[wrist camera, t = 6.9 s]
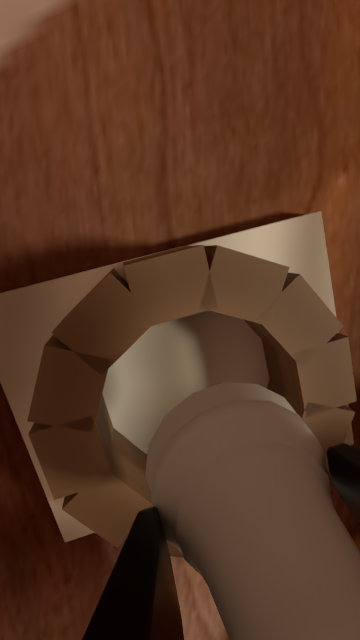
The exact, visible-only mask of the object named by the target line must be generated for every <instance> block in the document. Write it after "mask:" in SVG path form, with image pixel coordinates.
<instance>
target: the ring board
mask: <svg viewBox="0 0 360 640" xmlns="http://www.w3.org/2000/svg"><path fill="white" fill-rule="evenodd" d="M342 327H343V325H342V324H341V323H340V321H339V320H338V319H337V318H336V312H335V305H334V298H333V291H332V284H331V277H330V270H329V263H328V256H327V249H326V241H325V234H324V227H323V220H322V213H321V211H319V212H314V213H309V214H304V215H300V216H297V217H293V218H289V219H285V220H281V221H277V222H273V223H269V224H266V225H262V226H258V227H254V228H250V229H246V230H242V231H238V232H235V233H231V234H227V235H223V236H219V237H215V238H211V239H207V240H204V241H200V242H196V243H192V244H188V245H184V246H180V247H176V248H173V249H169V250H165V251H161V252H157V253H153V254H149V255H146V256H142V257H138V258H134V259H130V260H126V261H122V262H118V263H115V264H111V265H107V266H103V267H99V268H95V269H91V270H87V271H84V272H80V273H76V274H72V275H68V276H64V277H60V278H56V279H53V280H49V281H45V282H41V283H37V284H33V285H29V286H26V287H22V288H18V289H14V290H10V291H6V292H2V293H0V382H1V385H2V387H3V390H4V392H5V395H6V397H7V400H8V402H9V405H10V407H11V410H12V412H13V415H14V417H15V420H16V422H17V425H18V427H19V430H20V432H21V435H22V437H23V440H24V442H25V445H26V447H27V450H28V452H29V455H30V457H31V460H32V462H33V465H34V467H35V469H36V472H37V474H38V477H39V479H40V482H41V484H42V487H43V489H44V492H45V494H46V497H47V499H48V502H49V504H50V507H51V509H52V512H53V514H54V517H55V519H56V522H57V524H58V527H59V529H60V532H61V534H62V537H63V539H64V542H68V541H71V540H74V539H77V538H80V537H83V536H86V535H89V534H92V533H96V534H98V535H99V536H101V537H102V538H103V539H105V540H106V541H108V542H109V543H111V544H112V545H113V546H115V547H116V548H118V547H119V546H120V545H121V544H122V543H123V542H124V541H125V540H126V538H127V536H128V534H129V531H130V529H131V527H132V524H133V522H134V520H135V518H136V515H137V513H138V512H139V511H140V510H143V509H146V508H149V507H152V506H153V505H152V502H151V500H150V498H151V491H150V488H149V485H148V483H147V480H146V477H145V472H146V463H147V453H148V445H149V443H150V441H151V439H152V437H153V436H154V434H155V432H156V430H157V429H158V427H159V425H160V423H161V422H162V420H163V418H164V416H165V415H166V414H167V413H169V412H170V411H171V410H172V409H173V408H175V407H176V406H177V405H178V404H180V403H181V402H182V401H183V400H184V399H186V398H187V397H188V396H189V395H191V394H192V393H194V392H197V391H200V390H203V389H206V388H209V387H212V386H215V385H218V384H221V383H224V382H229V383H248V384H258V385H260V386H262V387H264V388H266V389H268V390H270V391H272V392H274V393H276V394H278V395H280V396H282V397H284V398H285V399H286V400H287V402H288V403H289V404H290V405H291V407H292V408H293V409H294V411H295V412H296V413H297V414H298V415H300V417H301V418H302V419H303V421H304V422H305V423H306V425H307V426H308V427H309V428H310V430H311V431H312V432H313V434H314V435H315V436H316V437H317V439H318V441H319V443H320V445H321V447H322V450H323V454H324V459H325V464H326V469H327V472H329V466H328V460H327V453H326V451H327V449H328V447H331V446H334V445H337V444H340V443H345V444H348V445H352V444H354V439H353V432H352V425H351V423H352V420H353V417H354V415H355V411H353V410H352V409H350V408H349V403H353V402H356V401H357V399H356V391H355V384H354V376H353V369H352V362H351V354H350V347H349V339H348V337H347V336H345V335H342V334H340V333H338V331H339V330H340V329H341V328H342ZM167 544H168V549H169V554H170V556H175V557H184V556H183V554H182V553H181V552H180V551H179V550H177V549H176V548H175V547H174V546H173V545H172V544H171V543H170V542H169V541H168V540H167Z"/></svg>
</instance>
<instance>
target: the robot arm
mask: <svg viewBox="0 0 360 640" xmlns="http://www.w3.org/2000/svg"><path fill="white" fill-rule="evenodd" d="M326 453H327V460H328V466H329V472H330V477H331V481H332V483H333V485H334V487H335V488H336V490H337V491H338V493H339V494H340V496H341V497H342V499H343V500H344V502H345V503H346V505H347V506H348V508H349V509H350V511H351V512H352V514H353V515H354V517H355V518H356V520H357V521H358V523H359V524H360V448H357V447H354V446H351V445H348V444H345V443H340V444H337V445H334V446H331V447H328V449H327V451H326ZM82 640H184V635H183V626H182V619H181V612H180V606H179V601H178V596H177V591H176V585H175V580H174V575H173V570H172V564H171V559H170V554H169V549H168V544H167V539H166V536H165V533H164V530H163V527H162V524H161V521H160V518H159V515H158V511H157V508H156V507H155V506H152V507H149V508H146V509H143V510H140V511H139V512H138V513H137V515H136V518H135V520H134V522H133V524H132V527H131V529H130V531H129V534H128V536H127V538H126V540H125V543H124V545H123V547H122V550H121V552H120V554H119V556H118V559H117V561H116V563H115V566H114V568H113V570H112V573H111V575H110V577H109V579H108V582H107V584H106V586H105V589H104V591H103V593H102V595H101V598H100V600H99V602H98V605H97V607H96V609H95V611H94V614H93V616H92V618H91V621H90V623H89V625H88V628H87V630H86V632H85V634H84V637H83V639H82Z"/></svg>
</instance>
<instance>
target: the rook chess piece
mask: <svg viewBox="0 0 360 640" xmlns="http://www.w3.org/2000/svg"><path fill="white" fill-rule="evenodd" d="M145 477H146V480H147V483H148V485H149V488H150V491H151V498H150V500H151V502H152V505H153V506H155V507H156V508H157V511H158V515H159V518H160V521H161V524H162V527H163V530H164V533H165V536H166V539H167V540H168V541H169V542H170V543H171V544H172V545H173V546H174V547H175V548H176V549H177V550H179V551H180V552H181V553H182V554H183V556H184V559H185V560H186V561H187V562H188V563H189V564H190V565H191V566H192V567H193V568H194V569H195V570H196V571H197V572H198V573H199V574H200V575H202V576H203V578H204V580H205V581H206V583H207V585H208V587H209V589H210V591H211V594H212V596H213V599H214V601H215V604H216V606H217V609H218V611H219V614H220V616H221V619H222V621H223V624H224V626H225V629H226V631H227V634H228V636H229V639H230V640H360V551H359V549H358V547H357V546H356V544H355V542H354V541H353V539H352V537H351V536H350V534H349V532H348V531H347V529H346V527H345V526H344V524H343V522H342V521H341V519H340V517H339V516H338V514H337V512H336V510H335V508H334V506H333V504H334V501H333V496H332V491H331V487H330V482H329V477H328V474H327V469H326V464H325V459H324V454H323V450H322V447H321V445H320V443H319V441H318V439H317V437H316V436H315V435H314V434H313V432H312V431H311V430H310V428H309V427H308V426H307V425H306V423H305V422H304V421H303V419H302V418H301V417H300V415H298V414H297V413H296V412H295V411H294V409H293V408H292V407H291V405H290V404H289V403H288V402H287V400H286V399H285V398H284V397H282V396H280V395H278V394H276V393H274V392H272V391H270V390H268V389H266V388H264V387H262V386H260V385H258V384H248V383H229V382H224V383H221V384H218V385H215V386H212V387H209V388H206V389H203V390H200V391H197V392H194V393H192V394H191V395H189V396H188V397H187V398H186V399H184V400H183V401H182V402H181V403H180V404H178V405H177V406H176V407H175V408H173V409H172V410H171V411H170V412H169V413H167V414H166V415H165V416H164V418H163V420H162V422H161V423H160V425H159V427H158V429H157V430H156V432H155V434H154V436H153V437H152V439H151V441H150V443H149V445H148V453H147V463H146V472H145Z"/></svg>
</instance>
